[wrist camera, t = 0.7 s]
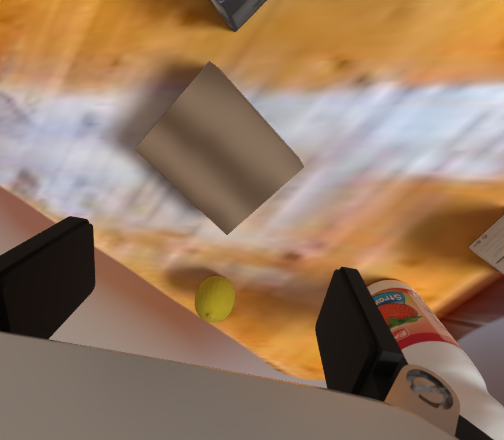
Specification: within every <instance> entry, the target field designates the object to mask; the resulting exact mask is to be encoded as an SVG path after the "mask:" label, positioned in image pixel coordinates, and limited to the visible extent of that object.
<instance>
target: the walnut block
mask: <svg viewBox="0 0 504 440" xmlns="http://www.w3.org/2000/svg"><path fill="white" fill-rule="evenodd" d="M135 150H136V151H137V152H138V153H139V154H140V155H141V156H143V157H144V158H145V159H146V160H147V161H148V162H149V163H150V164H151V165H152V166H153V167H154V168H155V169H157V170H158V171H159V172H160V173H161V174H162V175H163V176H164V177H165V178H166V179H167V180H168V181H169V182H170V183H172V184H173V185H174V186H175V187H176V188H177V189H178V190H179V191H180V192H181V193H182V194H183V195H184V196H186V197H187V198H188V199H189V200H190V201H191V202H192V203H193V204H194V205H195V206H196V207H197V208H198V209H200V210H201V211H202V212H203V213H204V214H205V215H206V216H207V217H208V218H209V219H210V220H211V221H212V222H213V223H215V224H216V225H217V226H218V227H219V228H220V229H221V230H222V231H223V232H224V233H225V234H226V235H228V234H229V233H230V232H231V231H232V230H233V229H235V228H236V227H237V226H238V225H239V224H240V223H241V222H243V221H244V220H245V219H246V218H247V217H248V216H249V215H250V214H252V213H253V212H254V211H255V210H256V209H257V208H258V207H260V206H261V205H262V204H263V203H264V202H265V201H266V200H267V199H269V198H270V197H271V196H272V195H273V194H274V193H275V192H276V191H278V190H279V189H280V188H281V187H282V186H283V185H284V184H286V183H287V182H288V181H289V180H290V179H291V178H292V177H293V176H295V175H296V174H297V173H298V172H299V171H300V170H301V169H303V168H304V166H303V164H302V162H301V161H300V159H299V157H298V156H297V155H296V154H295V153H294V152H293V151H292V149H291V148H290V147H289V146H288V145H287V144H286V143H285V142H284V140H283V139H282V138H281V137H280V136H279V135H278V134H277V133H276V132H275V130H274V129H273V128H272V127H271V126H270V125H269V124H268V123H267V121H266V120H265V119H264V118H263V117H262V116H261V115H260V114H259V112H258V111H257V110H256V109H255V108H254V107H253V106H252V105H251V103H250V102H249V101H248V100H247V99H246V98H245V97H244V96H243V95H242V93H241V92H240V91H239V90H238V89H237V88H236V87H235V86H234V84H233V83H232V82H231V81H230V80H229V79H228V78H227V77H226V75H225V74H224V73H223V72H222V71H221V70H220V69H219V68H218V67H217V66H215V65H214V64H213V63H211V62H210V61H209V62H208V63H207V64H206V66H205V67H204V68H203V69H202V70H201V71H200V73H199V74H198V75H197V76H196V77H195V79H194V80H193V81H192V82H191V83H190V84H189V86H188V87H187V88H186V89H185V90H184V92H183V93H182V94H181V95H180V96H179V97H178V99H177V100H176V101H175V102H174V103H173V105H172V106H171V107H170V108H169V109H168V110H167V112H166V113H165V114H164V115H163V116H162V118H161V119H160V120H159V121H158V122H157V123H156V125H155V126H154V127H153V128H152V129H151V131H150V132H149V133H148V134H147V135H146V136H145V138H144V139H143V140H142V141H141V142H140V144H139V145H138V146H137V147H136V148H135Z"/></svg>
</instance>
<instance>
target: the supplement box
mask: <svg viewBox="0 0 504 440" xmlns="http://www.w3.org/2000/svg"><path fill="white" fill-rule="evenodd" d="M469 249H470V250H472V251H473V252H474V253H475V254H477V255H478V256H479V257H481V258H482V259H483V260H485V261H486V262H487V263H489V264H490V265H492V266H493V267H495V268H496V269H497V270H499V271H500V272H502V273H503V274H504V215H503V216H502V217H501V218H500V219H498V220H497V221H496V222H495V223H494V224H493V225H492V226H491V227H490V228H488V229H487V230H486V231H485V232H484V233H483V234H482V235H481V236H480V237H479V238H478V239H476V240H475V241H474V242H473V243H472V244H471V245H470V246H469Z"/></svg>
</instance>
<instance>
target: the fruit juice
mask: <svg viewBox="0 0 504 440" xmlns="http://www.w3.org/2000/svg"><path fill="white" fill-rule="evenodd" d="M367 288H368V290H369V292H370V294H371V295H372V297H373V299H374V301H375V303H376V305H377V306H378V308H379V310H380V312H381V314H382V316H383V317H384V319H385V321H386V323H387V325H388V327H389V328H390V330H391V332H392V334H393V336H394V338H395V339H396V341H397V343H398V345H399V347H400V349H401V350H402V352H403V354H404V357H405V359H406V360H407V362H408V364H409V365H410V364H411V365H419V366H421V367H424V368H427V369H429V370H430V371H432V372H434V373H436V374H437V375H438V376H440V377H441V378H442V379H444V380H445V381H446V382H447V383H448V384H449V385H450V386H451V388H452V389H453V390H454V392H455V393H456V395H457V397H458V399H459V402H460V413H459V414H460V415H461V416H463V417H464V418H465V419H467V420H468V421H469V422H471V423H472V424H473V425H475V426H476V427H477V428H479V429H480V430H481V431H483V432H484V433H485V434H487V435H488V436H490V437H491V438H492V439H494V440H504V407H503V406H502V405H501V404H500V403H499V402H497V401H496V400H495V399H494V398H493V397H492V396H490V395H489V393H488V392H487V389H486V385H485V382H484V380H483V378H482V376H481V375H480V373H479V371H478V370H477V368H476V367H475V365H474V364H473V363H472V361H471V360H470V358H469V357H468V356H467V355H466V354H465V352H464V351H463V350H462V349H461V348H460V346H459V345H458V344H457V342H456V341H455V340H454V339H453V337H452V336H451V335H450V334H449V332H448V331H447V330H446V329H445V327H444V326H443V325H442V323H441V322H440V321H439V320H438V318H437V317H436V316H435V315H434V313H433V312H432V311H431V310H430V308H429V307H428V306H427V305H426V303H425V302H424V301H423V299H422V298H421V297H420V296H419V294H418V293H417V292H416V291H415V290H414V289H413V288H412V287H411V286H409V285H408V284H406V283H404V282H401V281H398V280H382V281H378V282H375V283H373V284H371V285H369V286H368V287H367Z"/></svg>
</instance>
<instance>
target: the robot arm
mask: <svg viewBox="0 0 504 440" xmlns="http://www.w3.org/2000/svg"><path fill="white" fill-rule="evenodd" d="M94 287H95V262H94V236H93V226H92V224H89V221H88V220H87V219H83V218H78V217H72V216H70V217H67V218H65V219H64V220H62V221H60V222H58V223H57V224H55V225H53V226H51V227H50V228H48V229H46V230H44V231H43V232H41V233H39V234H37V235H36V236H34V237H32V238H30V239H29V240H27V241H25V242H23V243H22V244H20V245H18V246H16V247H15V248H13V249H11V250H9V251H7V252H6V253H4V254H2V255H0V440H494V439H492V438H491V437H490V436H488V435H487V434H485V433H484V432H483V431H481V430H480V429H479V428H477V427H476V426H475V425H473V424H472V423H471V422H469V421H468V420H467V419H465V418H464V417H463V416H461V415H460V414H459V413H460V402H459V399H458V397H457V395H456V393H455V392H454V390H453V389H452V388H451V386H450V385H449V384H448V383H447V382H446V381H445V380H444V379H442V378H441V377H440V376H438V375H437V374H436V373H434V372H432V371H430V370H429V369H427V368H424V367H421V366H419V365H411V364H410V365H409V364H408V362H407V360H406V359H405V357H404V354H403V352H402V350H401V349H400V347H399V345H398V343H397V341H396V339H395V338H394V336H393V334H392V332H391V330H390V328H389V327H388V325H387V323H386V321H385V319H384V317H383V316H382V314H381V312H380V310H379V308H378V306H377V305H376V303H375V301H374V299H373V297H372V295H371V294H370V292H369V290H368V288H367V286H366V284H365V283H364V281H363V279H362V277H361V275H360V273H359V272H358V270H357V269H352V268H346V267H341V268H340V269H339V270H337V269H336V270H335V271H334V274H333V276H332V279H331V282H330V285H329V288H328V291H327V294H326V297H325V299H324V302H323V305H322V308H321V311H320V314H319V317H318V319H317V322H316V328H315V331H316V337H317V341H318V346H319V351H320V356H321V360H322V365H323V370H324V374H325V379H326V384H327V388H321V387H316V386H310V385H305V384H299V383H294V382H289V381H283V380H277V379H272V378H266V377H261V376H255V375H250V374H244V373H239V372H233V371H228V370H222V369H217V368H211V367H206V366H200V365H194V364H188V363H183V362H177V361H172V360H166V359H160V358H154V357H149V356H143V355H137V354H132V353H125V352H120V351H114V350H108V349H103V348H97V347H91V346H85V345H79V344H73V343H67V342H61V341H55V340H49V338H50V337H51V336H52V335H53V333H54V332H55V331H56V330H57V329H58V328H59V327H60V326H61V325H62V324H63V323H64V322H65V321H66V320H67V318H68V317H69V316H70V315H71V314H72V313H73V312H74V311H75V310H76V309H77V308H78V307H79V306H80V304H81V303H82V302H83V301H84V300H85V299H86V298H87V297H88V296H89V295H90V294H91V292H92V291H93V289H94Z"/></svg>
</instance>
